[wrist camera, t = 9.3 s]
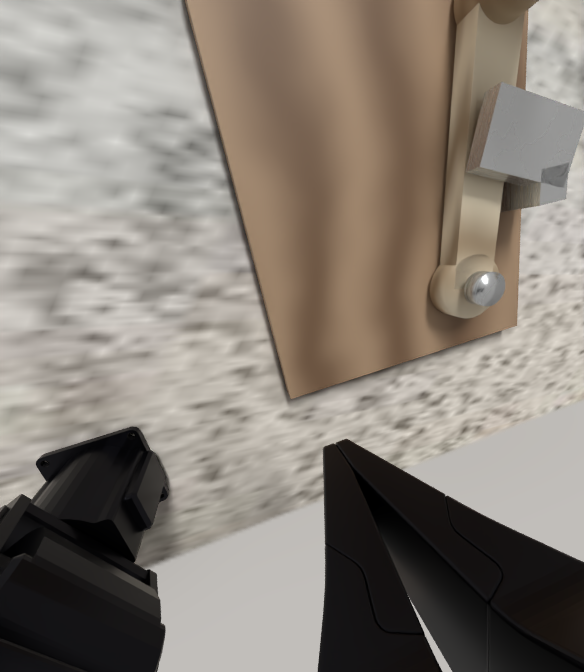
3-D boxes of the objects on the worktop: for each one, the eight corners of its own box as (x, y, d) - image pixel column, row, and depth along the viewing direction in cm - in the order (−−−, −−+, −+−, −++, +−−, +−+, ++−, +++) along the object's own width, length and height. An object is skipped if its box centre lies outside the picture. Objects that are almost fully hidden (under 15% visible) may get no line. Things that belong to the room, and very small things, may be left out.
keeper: (440, 302, 21) (476, 310, 18) (430, 116, 17) (473, 86, 14) (524, 277, 22) (571, 280, 19) (532, 97, 18) (592, 66, 15)
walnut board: (287, 391, 21) (290, 399, 20) (179, -18, 14) (175, -43, 13) (503, 322, 24) (516, 325, 23) (510, -48, 17) (531, -70, 16)
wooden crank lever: (477, 310, 22) (783, 374, 10) (428, 317, 21) (696, 397, 9) (516, -33, 16) (1393, -913, 4) (450, -42, 15) (1303, -1189, 3)
